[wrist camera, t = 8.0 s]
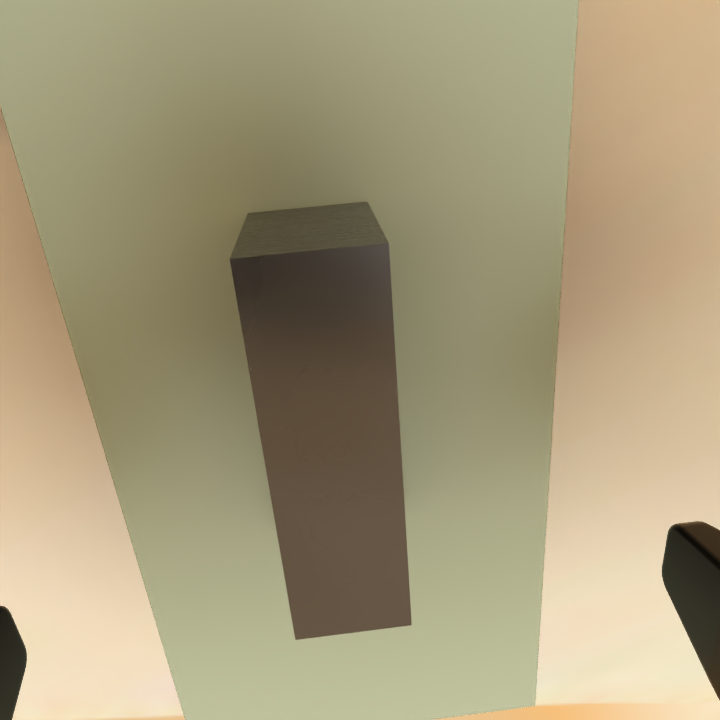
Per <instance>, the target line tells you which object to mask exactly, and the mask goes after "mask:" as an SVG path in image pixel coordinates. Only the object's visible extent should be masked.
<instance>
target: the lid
mask: <svg viewBox="0 0 720 720" xmlns="http://www.w3.org/2000/svg"><path fill="white" fill-rule="evenodd" d="M578 2H579V0H0V107H1V110H2V114H3V117H4V120H5V124H6V127H7V130H8V134H9V137H10V140H11V143H12V147H13V150H14V153H15V157H16V160H17V163H18V167H19V170H20V173H21V177H22V180H23V183H24V187H25V190H26V193H27V197H28V200H29V203H30V207H31V210H32V213H33V216H34V220H35V223H36V226H37V230H38V233H39V236H40V240H41V243H42V246H43V250H44V253H45V256H46V260H47V263H48V266H49V270H50V273H51V276H52V280H53V283H54V286H55V289H56V293H57V296H58V299H59V303H60V306H61V309H62V313H63V316H64V319H65V323H66V326H67V329H68V333H69V336H70V339H71V343H72V346H73V349H74V353H75V356H76V359H77V362H78V366H79V369H80V372H81V376H82V379H83V382H84V386H85V389H86V392H87V396H88V399H89V402H90V406H91V409H92V412H93V416H94V419H95V422H96V426H97V429H98V432H99V435H100V439H101V442H102V445H103V449H104V452H105V455H106V459H107V462H108V465H109V469H110V472H111V475H112V479H113V482H114V485H115V489H116V492H117V495H118V499H119V502H120V505H121V508H122V512H123V515H124V518H125V522H126V525H127V528H128V532H129V535H130V538H131V542H132V545H133V548H134V552H135V555H136V558H137V562H138V565H139V568H140V572H141V575H142V578H143V581H144V585H145V588H146V591H147V595H148V598H149V601H150V605H151V608H152V611H153V615H154V618H155V621H156V625H157V628H158V631H159V635H160V638H161V641H162V645H163V648H164V651H165V655H166V658H167V661H168V664H169V668H170V671H171V674H172V678H173V681H174V684H175V688H176V691H177V694H178V698H179V701H180V704H181V708H182V711H183V714H184V718H185V720H432V719H441V718H448V717H455V716H463V715H471V714H478V713H486V712H493V711H500V710H508V709H516V708H523V707H531V706H535V700H536V684H537V667H538V651H539V635H540V619H541V602H542V586H543V570H544V554H545V538H546V521H547V505H548V489H549V473H550V456H551V440H552V424H553V408H554V392H555V375H556V359H557V343H558V327H559V310H560V294H561V278H562V262H563V246H564V229H565V213H566V197H567V181H568V164H569V148H570V132H571V116H572V100H573V83H574V67H575V51H576V35H577V18H578Z"/></svg>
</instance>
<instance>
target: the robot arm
mask: <svg viewBox="0 0 720 720" xmlns="http://www.w3.org/2000/svg"><path fill="white" fill-rule="evenodd" d="M662 577H663V582H664V585H665V587H666V590H667V592H668V594H669V596H670V598H671V600H672V602H673V605H674V607H675V609H676V611H677V613H678V615H679V617H680V619H681V622H682V624H683V626H684V628H685V630H686V632H687V634H688V636H689V638H690V641H691V643H692V645H693V647H694V649H695V651H696V653H697V655H698V658H699V660H700V662H701V664H702V666H703V668H704V670H705V672H706V674H707V677H708V679H709V681H710V683H711V684H712V686H713V688H714V690H715V692H716V694H717V696H718V698H719V700H720V530H718V529H716V528H714V527H713V526H711V525H709V524H707V523H704V522H698V521H696V522H687V523H679V524H675V525H672V526H671V528H670V529H669V531H668V535H667V541H666V547H665V553H664V559H663V565H662ZM26 661H27V654H26V648H25V645H24V643H23V641H22V638H21V636H20V634H19V632H18V629H17V627H16V625H15V622H14V620H13V618H12V615H11V613H10V612H9V610H8V609H7V608H6V607H4V606H0V720H12V718H13V714H14V710H15V706H16V702H17V699H18V695H19V691H20V687H21V683H22V680H23V676H24V672H25V668H26Z"/></svg>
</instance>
